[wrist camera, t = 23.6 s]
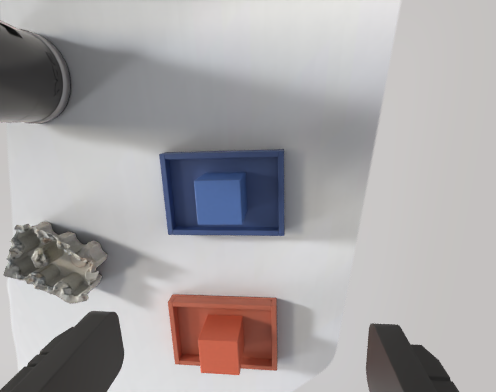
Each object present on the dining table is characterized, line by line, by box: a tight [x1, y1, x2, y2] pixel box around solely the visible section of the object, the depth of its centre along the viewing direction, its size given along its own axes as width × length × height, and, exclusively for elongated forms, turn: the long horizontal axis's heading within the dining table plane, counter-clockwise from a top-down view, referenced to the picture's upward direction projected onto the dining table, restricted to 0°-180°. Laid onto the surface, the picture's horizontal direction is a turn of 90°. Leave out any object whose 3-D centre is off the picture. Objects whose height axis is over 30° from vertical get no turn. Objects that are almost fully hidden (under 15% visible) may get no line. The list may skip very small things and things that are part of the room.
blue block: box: [194, 172, 247, 225], centre depth 31 cm, size 4×4×4 cm
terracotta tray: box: [168, 294, 277, 370], centre depth 37 cm, size 13×9×2 cm
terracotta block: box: [198, 315, 244, 375], centre depth 35 cm, size 4×4×4 cm
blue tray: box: [159, 149, 284, 236], centre depth 32 cm, size 13×9×2 cm
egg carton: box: [4, 222, 107, 303], centre depth 36 cm, size 11×8×4 cm
